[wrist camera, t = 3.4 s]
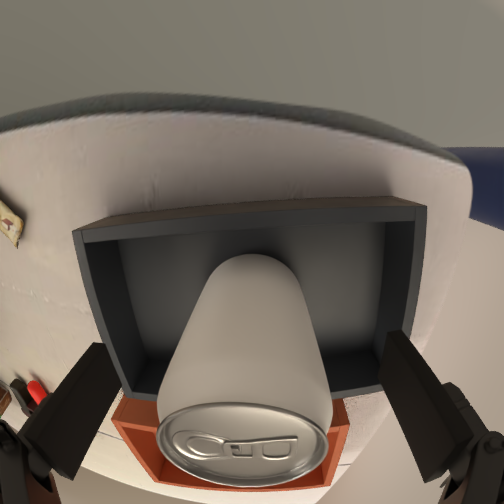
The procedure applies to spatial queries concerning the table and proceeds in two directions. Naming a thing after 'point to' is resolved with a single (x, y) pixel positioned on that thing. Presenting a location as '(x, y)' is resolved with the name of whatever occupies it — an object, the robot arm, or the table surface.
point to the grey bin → (265, 243)
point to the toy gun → (28, 395)
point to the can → (246, 381)
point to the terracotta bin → (163, 471)
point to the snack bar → (10, 223)
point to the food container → (4, 399)
